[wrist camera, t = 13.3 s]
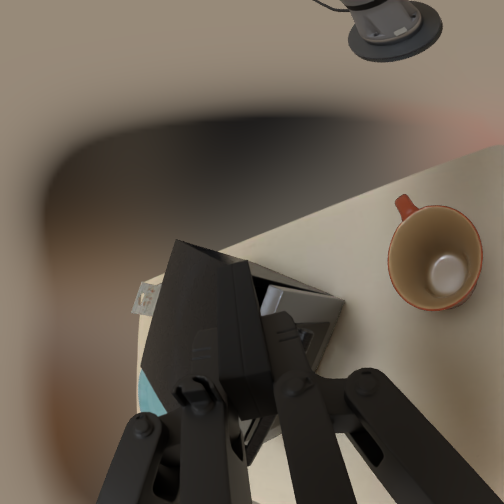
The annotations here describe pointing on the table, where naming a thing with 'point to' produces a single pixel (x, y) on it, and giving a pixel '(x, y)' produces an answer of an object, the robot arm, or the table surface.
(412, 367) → the table surface
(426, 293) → the mug
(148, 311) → the ink box
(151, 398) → the plate
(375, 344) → the table surface
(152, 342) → the box
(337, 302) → the door
